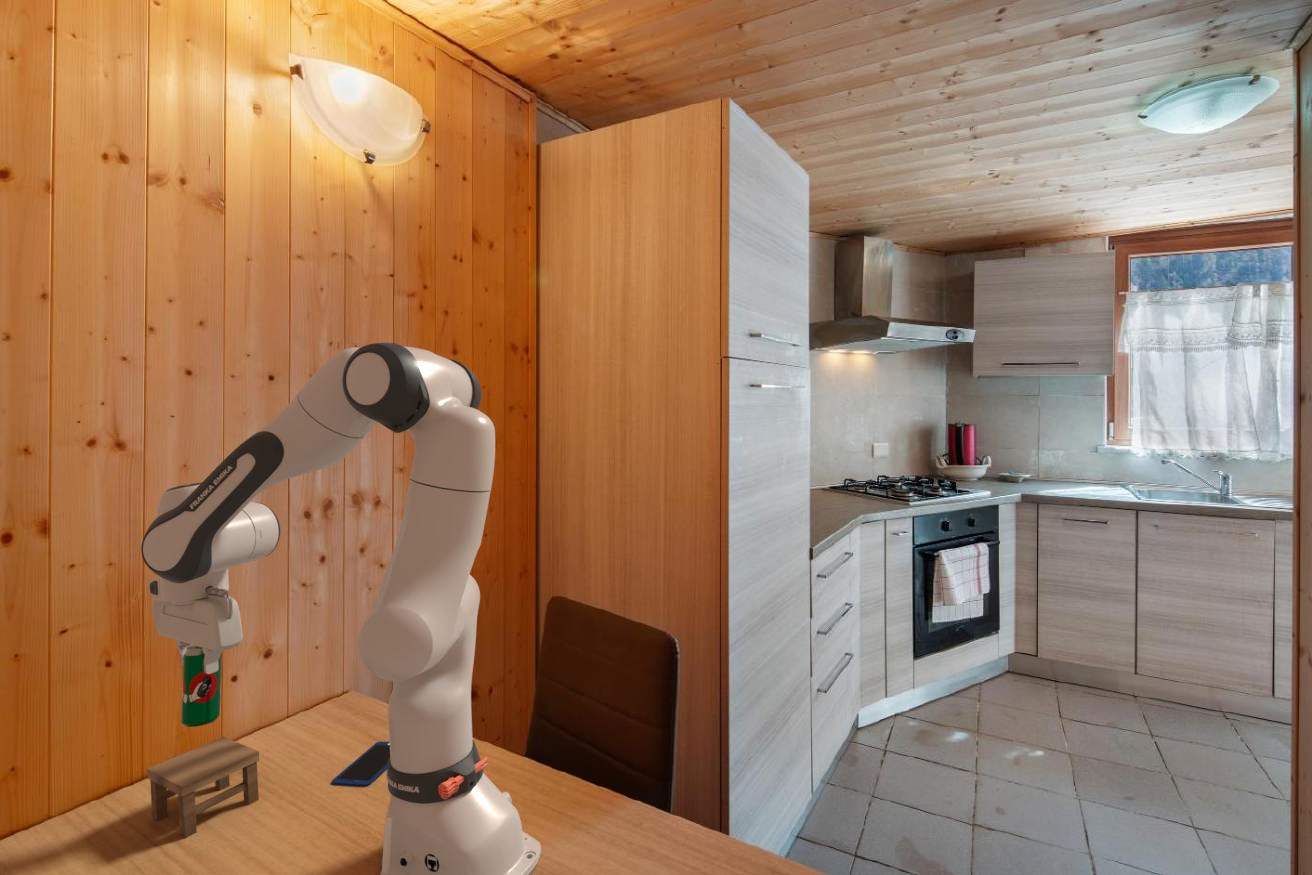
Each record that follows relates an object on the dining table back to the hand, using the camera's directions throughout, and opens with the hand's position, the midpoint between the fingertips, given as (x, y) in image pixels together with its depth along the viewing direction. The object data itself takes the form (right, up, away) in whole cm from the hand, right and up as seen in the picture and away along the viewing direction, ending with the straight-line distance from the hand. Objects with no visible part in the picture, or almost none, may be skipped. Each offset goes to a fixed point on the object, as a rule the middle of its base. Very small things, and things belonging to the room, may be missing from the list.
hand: (200, 668), depth 99 cm
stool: (+1, -23, 0) cm, 23 cm away
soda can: (+1, -9, -1) cm, 9 cm away
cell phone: (+22, -22, +12) cm, 34 cm away
